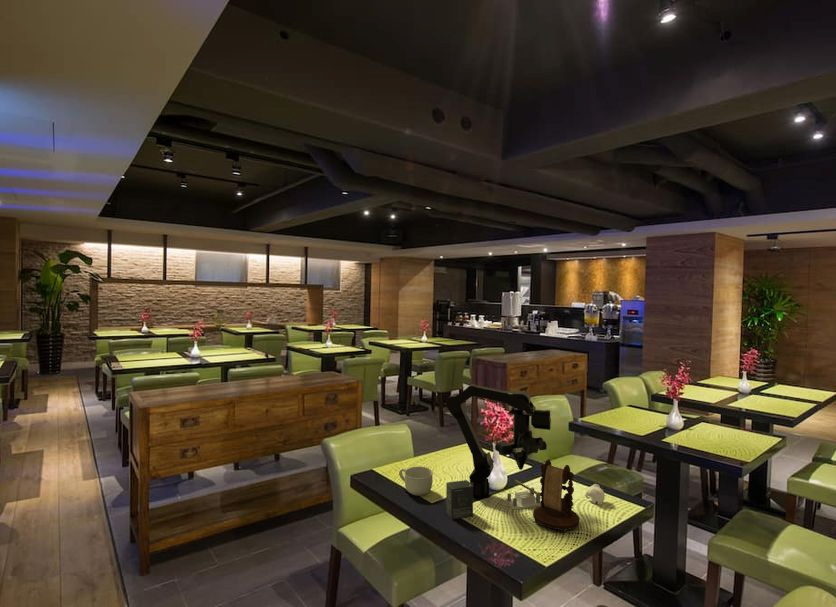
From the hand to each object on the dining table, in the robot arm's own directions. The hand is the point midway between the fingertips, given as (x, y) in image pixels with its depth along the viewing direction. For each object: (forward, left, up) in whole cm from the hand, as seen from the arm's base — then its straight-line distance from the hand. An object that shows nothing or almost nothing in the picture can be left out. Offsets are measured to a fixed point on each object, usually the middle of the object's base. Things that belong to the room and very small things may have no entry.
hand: (520, 469), depth 163 cm
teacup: (-34, +19, -12) cm, 41 cm away
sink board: (+1, -1, -12) cm, 12 cm away
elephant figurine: (+27, -8, -12) cm, 31 cm away
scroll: (+4, -17, -12) cm, 21 cm away
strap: (+1, -1, -7) cm, 7 cm away
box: (-25, -3, -12) cm, 28 cm away
